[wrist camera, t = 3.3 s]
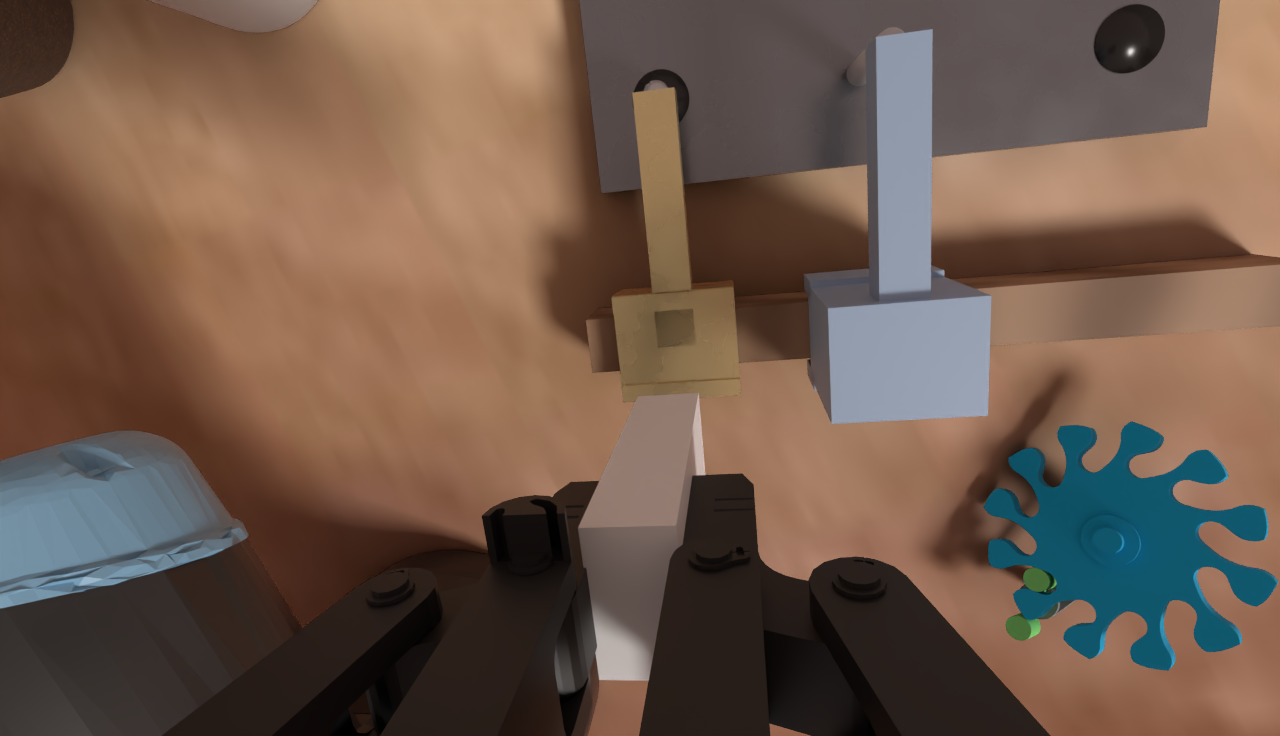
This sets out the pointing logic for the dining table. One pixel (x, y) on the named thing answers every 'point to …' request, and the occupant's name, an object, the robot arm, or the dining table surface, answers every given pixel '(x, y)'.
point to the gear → (1122, 546)
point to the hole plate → (836, 110)
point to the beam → (1037, 307)
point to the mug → (244, 12)
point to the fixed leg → (672, 279)
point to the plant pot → (33, 42)
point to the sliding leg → (898, 270)
